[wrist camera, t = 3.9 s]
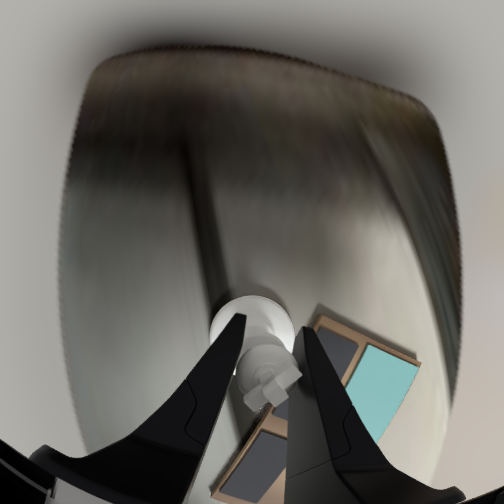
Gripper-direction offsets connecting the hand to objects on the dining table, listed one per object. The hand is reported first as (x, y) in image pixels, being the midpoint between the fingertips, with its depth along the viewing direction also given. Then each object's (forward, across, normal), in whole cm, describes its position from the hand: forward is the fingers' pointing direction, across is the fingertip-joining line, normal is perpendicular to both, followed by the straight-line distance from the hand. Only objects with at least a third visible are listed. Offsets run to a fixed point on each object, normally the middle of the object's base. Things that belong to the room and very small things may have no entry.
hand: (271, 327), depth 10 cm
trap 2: (-3, -2, +12) cm, 12 cm away
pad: (+1, -8, +7) cm, 11 cm away
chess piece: (+4, 0, +6) cm, 7 cm away
